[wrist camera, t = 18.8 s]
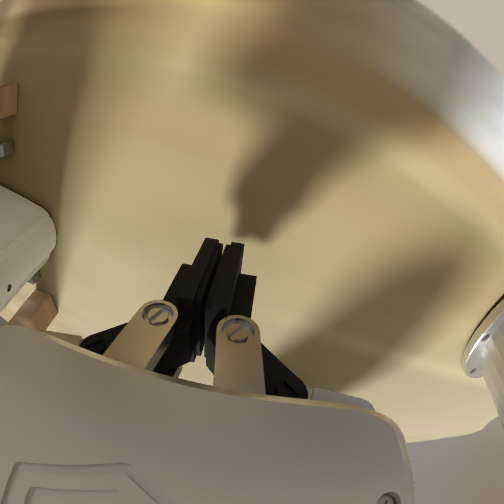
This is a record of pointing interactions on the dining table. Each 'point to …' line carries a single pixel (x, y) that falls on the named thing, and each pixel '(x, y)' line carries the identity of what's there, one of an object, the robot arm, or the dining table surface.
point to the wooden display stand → (39, 303)
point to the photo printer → (22, 242)
